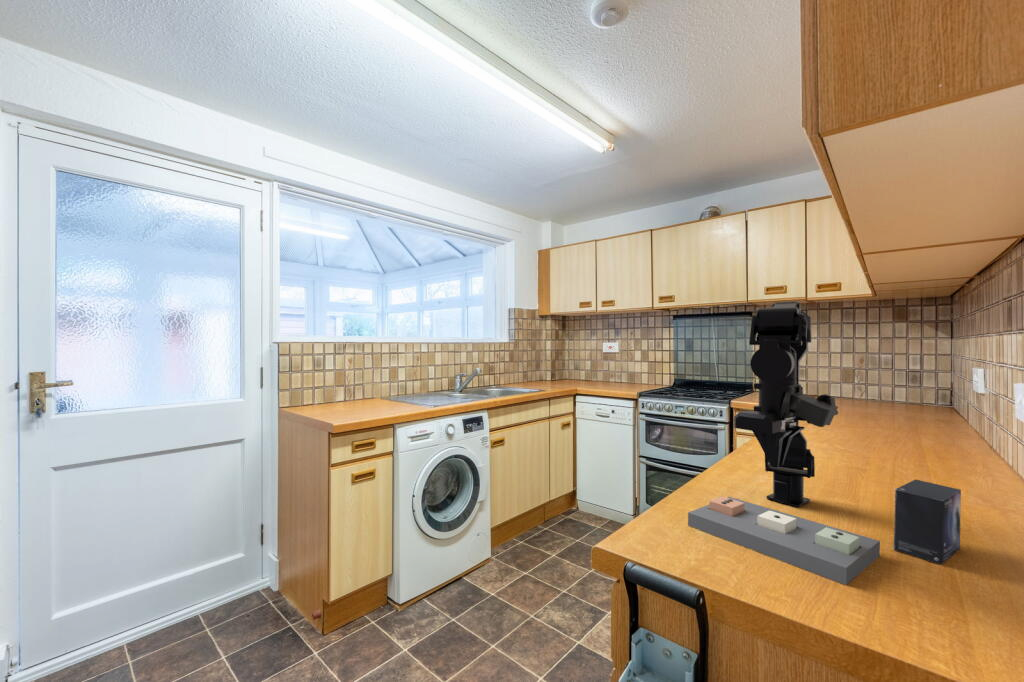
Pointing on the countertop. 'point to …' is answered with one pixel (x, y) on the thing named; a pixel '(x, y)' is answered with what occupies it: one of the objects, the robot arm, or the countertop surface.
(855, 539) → the two-dot button
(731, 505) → the three-dot button
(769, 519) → the one-dot button
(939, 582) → the countertop surface
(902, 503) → the small box
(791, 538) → the button board
